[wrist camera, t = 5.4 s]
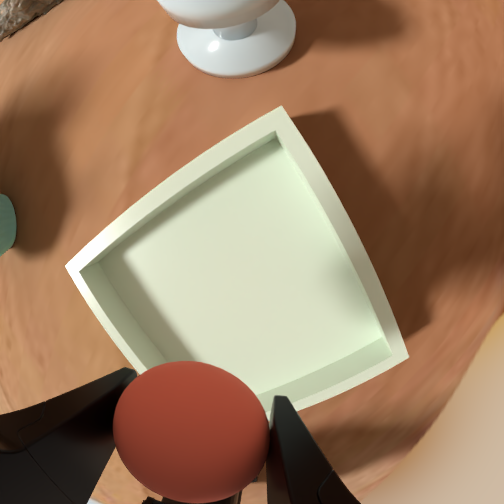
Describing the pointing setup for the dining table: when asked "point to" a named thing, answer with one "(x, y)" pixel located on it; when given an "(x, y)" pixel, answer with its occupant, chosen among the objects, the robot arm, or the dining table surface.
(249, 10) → the chess rook
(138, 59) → the dining table surface
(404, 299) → the dining table surface
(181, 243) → the tray
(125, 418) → the ball
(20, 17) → the long grey stone
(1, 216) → the cupcake
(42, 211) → the dining table surface
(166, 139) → the dining table surface
